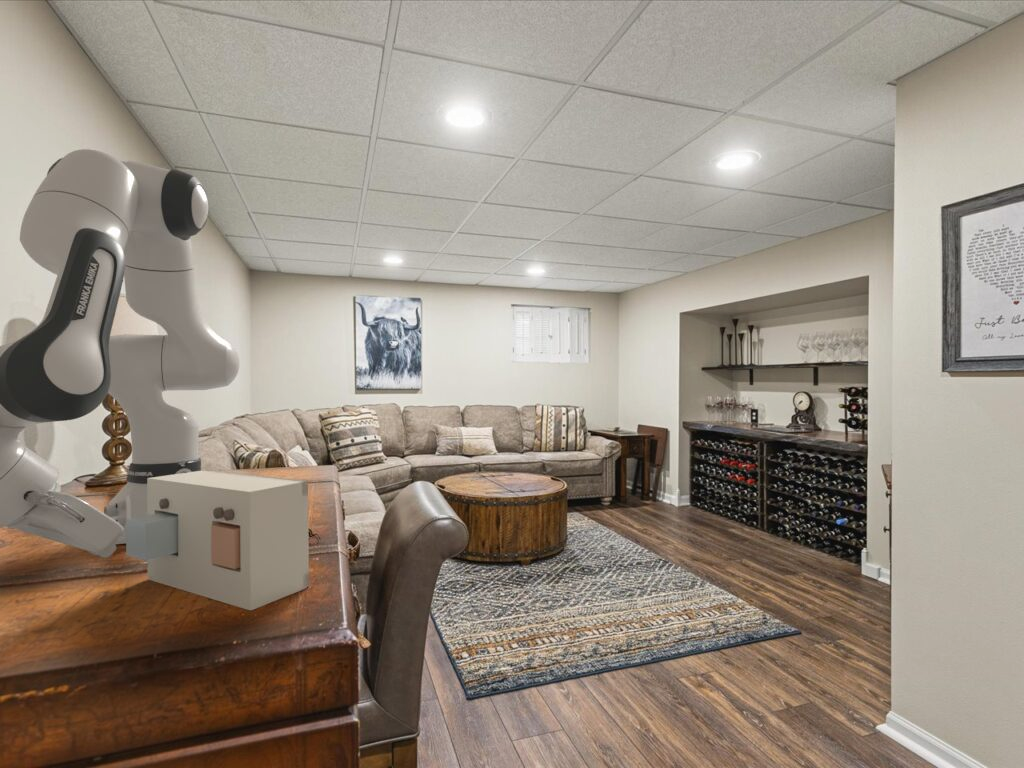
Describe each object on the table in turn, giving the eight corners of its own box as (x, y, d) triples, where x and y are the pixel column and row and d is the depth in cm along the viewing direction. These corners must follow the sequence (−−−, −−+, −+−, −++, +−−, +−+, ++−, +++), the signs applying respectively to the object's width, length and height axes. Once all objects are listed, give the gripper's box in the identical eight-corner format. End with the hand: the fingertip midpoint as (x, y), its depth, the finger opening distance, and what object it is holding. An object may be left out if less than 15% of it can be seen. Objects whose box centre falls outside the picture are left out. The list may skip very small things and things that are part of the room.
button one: (126, 555, 74) (126, 519, 74) (184, 540, 81) (184, 508, 81) (145, 560, 72) (145, 523, 72) (204, 545, 79) (204, 511, 79)
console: (143, 580, 78) (142, 478, 79) (207, 561, 87) (206, 469, 87) (246, 612, 67) (245, 492, 67) (308, 587, 75) (308, 480, 75)
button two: (211, 563, 71) (211, 525, 71) (264, 547, 78) (264, 512, 78) (234, 569, 68) (234, 529, 68) (287, 551, 75) (287, 516, 75)
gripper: (75, 474, 59) (169, 540, 67) (0, 463, 69) (89, 522, 77) (23, 524, 55) (130, 587, 63) (-49, 504, 65) (51, 561, 73)
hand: (107, 551), depth 70 cm, fingers closed
